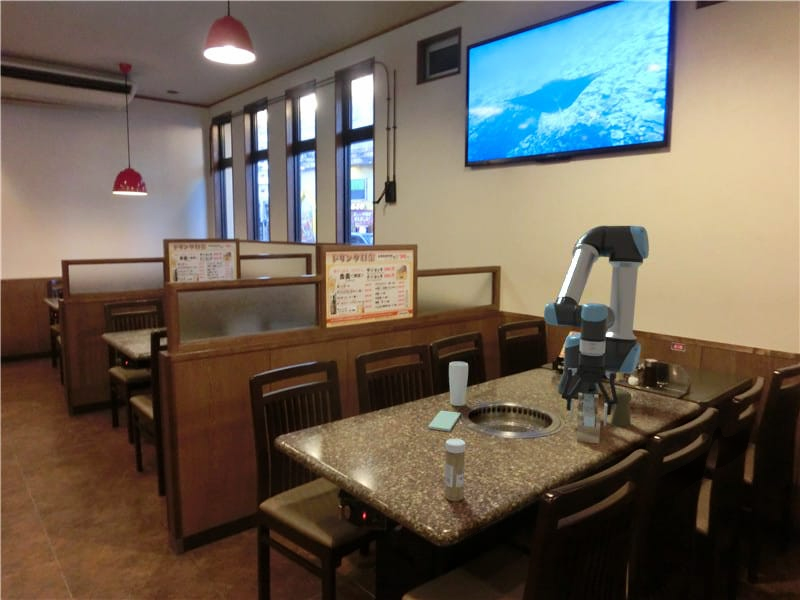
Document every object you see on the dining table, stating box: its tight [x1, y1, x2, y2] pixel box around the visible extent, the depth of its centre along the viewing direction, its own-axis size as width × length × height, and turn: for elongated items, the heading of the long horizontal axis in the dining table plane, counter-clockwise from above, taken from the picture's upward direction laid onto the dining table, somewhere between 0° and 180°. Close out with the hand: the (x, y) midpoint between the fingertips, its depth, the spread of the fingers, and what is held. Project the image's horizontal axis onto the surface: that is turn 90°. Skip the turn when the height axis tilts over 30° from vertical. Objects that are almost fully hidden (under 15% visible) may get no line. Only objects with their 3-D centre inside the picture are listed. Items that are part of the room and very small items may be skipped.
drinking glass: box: [448, 361, 469, 407], centre depth 190 cm, size 7×7×15 cm
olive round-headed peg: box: [610, 390, 632, 428], centre depth 173 cm, size 6×6×11 cm
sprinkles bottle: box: [444, 438, 466, 502], centre depth 123 cm, size 5×5×14 cm
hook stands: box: [576, 393, 602, 445], centre depth 168 cm, size 24×6×8 cm, turn 161°
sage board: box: [427, 410, 462, 433], centre depth 173 cm, size 16×7×1 cm, turn 161°
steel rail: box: [582, 393, 596, 427], centre depth 168 cm, size 24×3×3 cm, turn 161°
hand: (587, 422), depth 169 cm, fingers open, 9 cm apart
